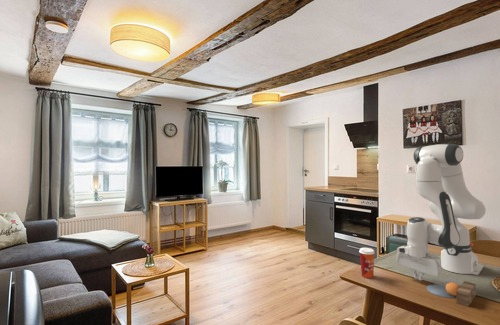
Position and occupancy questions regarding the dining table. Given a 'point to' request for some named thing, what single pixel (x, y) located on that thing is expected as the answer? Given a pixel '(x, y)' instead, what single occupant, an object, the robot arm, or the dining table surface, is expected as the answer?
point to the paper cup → (367, 262)
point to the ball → (452, 288)
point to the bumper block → (466, 293)
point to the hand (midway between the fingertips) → (418, 279)
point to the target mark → (439, 290)
